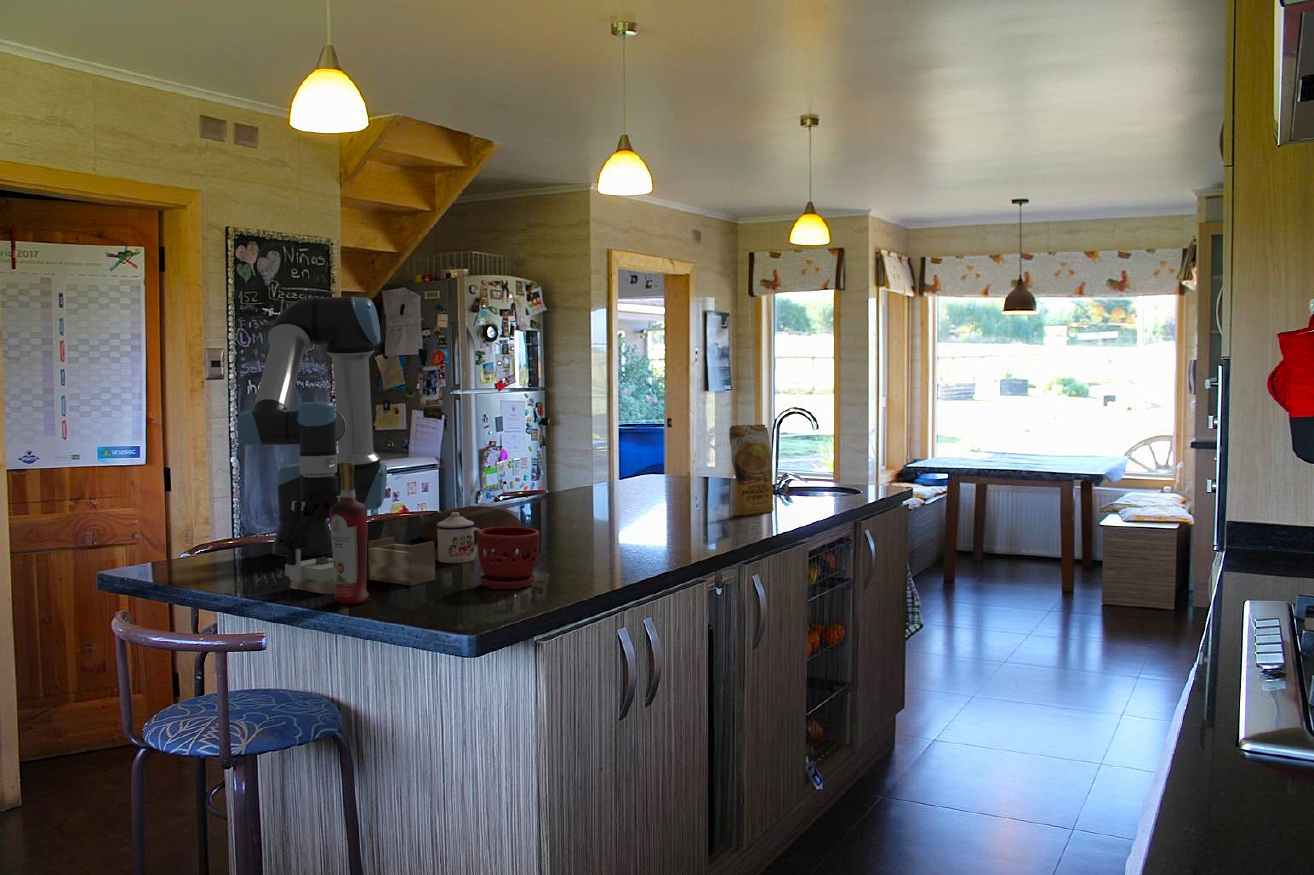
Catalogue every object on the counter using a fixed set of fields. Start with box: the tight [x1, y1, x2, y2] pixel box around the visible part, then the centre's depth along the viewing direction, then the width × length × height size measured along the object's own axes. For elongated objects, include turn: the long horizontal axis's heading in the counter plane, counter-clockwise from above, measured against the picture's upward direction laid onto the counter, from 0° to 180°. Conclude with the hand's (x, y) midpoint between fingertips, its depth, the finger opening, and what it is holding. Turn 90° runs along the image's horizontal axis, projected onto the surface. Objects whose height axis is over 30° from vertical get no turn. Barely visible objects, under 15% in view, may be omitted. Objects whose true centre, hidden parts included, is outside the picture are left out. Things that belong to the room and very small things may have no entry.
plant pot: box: [477, 526, 541, 590], centre depth 222 cm, size 13×13×12 cm
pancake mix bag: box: [728, 423, 774, 516], centre depth 329 cm, size 7×19×28 cm, turn 128°
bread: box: [417, 505, 523, 545], centre depth 288 cm, size 28×27×9 cm
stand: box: [289, 578, 335, 595], centre depth 222 cm, size 12×7×3 cm, turn 57°
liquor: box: [329, 462, 370, 606], centre depth 207 cm, size 7×7×28 cm
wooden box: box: [367, 536, 436, 586], centre depth 230 cm, size 13×7×8 cm, turn 57°
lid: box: [284, 556, 335, 581], centre depth 222 cm, size 11×10×3 cm
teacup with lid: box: [436, 512, 480, 564], centre depth 254 cm, size 12×9×12 cm
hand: (322, 574), depth 222 cm, fingers open, 13 cm apart
